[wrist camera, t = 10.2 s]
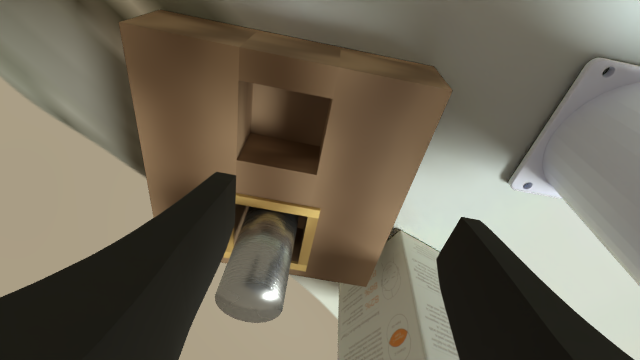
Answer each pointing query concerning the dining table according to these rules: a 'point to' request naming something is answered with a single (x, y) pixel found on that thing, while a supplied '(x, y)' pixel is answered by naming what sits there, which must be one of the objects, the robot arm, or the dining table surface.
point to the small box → (396, 308)
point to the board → (283, 131)
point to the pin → (258, 266)
